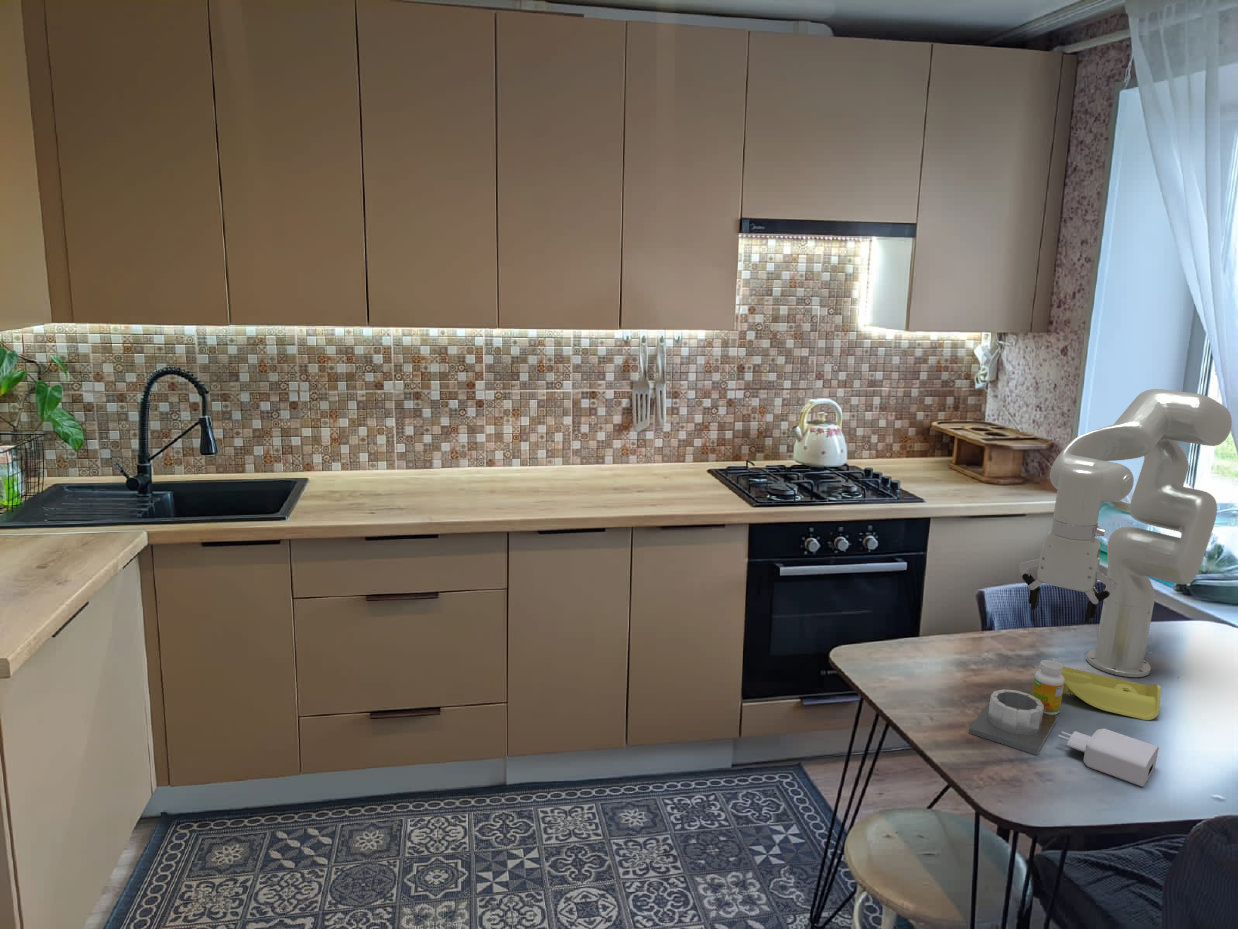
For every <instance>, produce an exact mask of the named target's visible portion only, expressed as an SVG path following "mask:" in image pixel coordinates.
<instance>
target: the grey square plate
mask: <svg viewBox="0 0 1238 929" xmlns="http://www.w3.org/2000/svg"><path fill="white" fill-rule="evenodd" d="M1043 709H1044V705H1043V704H1042V702H1041V701H1040V700H1039V699H1037V698H1035V697H1034V696H1032V694H1030V693H1027V692H1023V691H1020V690H1014V689H1013V690H1012V689H1005V688H1003V689H999V690H994V691H993V692H992V693H991V695H990V697H989V702H988V703H987V705H986V706H985V707H984V708H983V710H982V711H981V712H980V714H979V715H978V716H977V718H975V720H974V721H973V723H972V724H970V725H971V726H969V728H968V734H970V733H971V734H970V735H974V736H975V737H979V736H980V738H983V739H986V740H988V739H989V741H992V742H995V743H998V744H1000V743H1001V745H1004V746H1007V747H1009V748H1014V749H1016V750H1019V751H1023V752H1024V753H1025V752H1026V753H1028V754H1030V755H1034V756H1038V754H1039V752H1040V750H1041V749H1042V747H1043V745H1044V744H1045V742H1046V740H1047V738H1048V737H1049V736H1050V734H1051V731H1052V730H1053V729H1054V727H1055V724H1056V723H1057V720H1058V716H1055V715H1050V714H1046V713H1043Z"/></svg>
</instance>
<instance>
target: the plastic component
mask: <svg viewBox="0 0 1238 929" xmlns="http://www.w3.org/2000/svg"><path fill="white" fill-rule="evenodd" d="M1061 675H1062V676H1063V677H1064V687H1063V694H1065V695H1070V694H1071V696H1075V697H1077V698H1078V699H1080V700H1081V701H1083V702H1084V703H1086V704H1088V705H1090V706H1092V707H1094V708H1096V709H1100V710H1101V711H1105V712H1108V713H1113V714H1117V715H1121V716H1126V717H1131V718H1136V719H1139V720H1144V721H1150V720H1153V719H1155V718H1157V717H1158V715H1159V713H1160V710H1161V694H1162V687H1161V684H1160V685H1159V684H1144V683H1138V682H1134V681H1129V680H1125V679H1119V678H1114V677H1111V676H1106V675H1103V674H1097V673H1093V672H1089V671H1084V670H1079V669H1075V668H1070V667H1066V666H1063V668H1062V673H1061Z"/></svg>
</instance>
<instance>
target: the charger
mask: <svg viewBox="0 0 1238 929" xmlns="http://www.w3.org/2000/svg"><path fill="white" fill-rule="evenodd" d="M1063 735H1064V736H1063ZM1066 736H1067V737H1066ZM1057 737H1058V738H1060V739H1063V740H1066V741H1067V744H1066V746H1067V747H1068V748H1072V749H1074V750H1077V751H1079V752H1082V753H1084V756H1083V760H1082V761H1083V762H1084V764H1085V766H1086V767H1088V768H1091V769H1093V770H1096V771H1097V772H1101V773H1104V774H1106V775H1109V776H1112V777H1115V778H1118V779H1120V780H1123V781H1126V782H1128V783H1131V784H1134V785H1136V786H1140V787H1142V788H1143V787H1144V786H1145V785H1146V783H1147V781H1148V779H1150V776H1151V775H1152V773H1153V772H1154V770H1155V768H1156V764H1157V758H1158V754H1159V746H1157V745H1155V744H1151V743H1148V742H1146V741H1143V740H1140V739H1137V738H1133V737H1131V736H1129V735H1128V736H1127V735H1125V734H1122V733H1119V732H1117V731H1116V732H1115V731H1113V730H1109V729H1108V728H1099V729H1098V728H1097V729H1096V731H1095V732H1094V733H1093V734H1092V736H1090V735H1087V734H1084V733H1081V732H1079V731H1076V730H1074V731H1073V732H1072V734H1071V733H1068V732H1065V731H1060V734H1057Z"/></svg>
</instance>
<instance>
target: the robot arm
mask: <svg viewBox="0 0 1238 929" xmlns="http://www.w3.org/2000/svg"><path fill="white" fill-rule="evenodd" d="M1232 423H1233V422H1232V416H1231V413H1230V411H1229V409H1228V408H1227V407H1226V406H1225V405H1223V404H1222V403H1220V402H1218V401H1217V400H1215V399H1213V398H1212V397H1209V396H1207V395H1206V394H1205V395H1204V394H1202V393H1201V394H1200V393H1194V392H1188V391H1186V392H1185V391H1178V390H1171V389H1170V390H1169V389H1161V388H1160V389H1159V388H1153V389H1147V390H1144V391H1143V392H1141V393H1140V394H1138V395H1137V396H1136V397H1135V398H1134V400H1132V402H1131V403H1130V404H1129V405H1128V406H1127V408H1125V410H1124V411H1123V412H1122V413H1121V415H1120V416H1119V417H1118V418H1117V419H1116V421H1115V422H1114V423H1113V424H1111V425H1107V426H1104V427H1100V428H1097V429H1095V430H1092V431H1089V432H1086V433H1083V434H1081V435H1079V436H1076V437H1075V438H1073V439H1072V440H1071V441H1070V442H1069V443H1068V444H1066V446H1065V447H1064V448H1063V449H1062V451H1061V452H1060V453H1059V454H1058V455H1057V457H1056V458H1055V460H1054V462H1053V464H1052V466H1051V467H1050V472H1049V479H1050V483H1051V485H1052V486H1053V487H1054V489H1056V497H1055V505H1054V510H1053V511H1054V512H1053V518H1052V524H1051V530H1048V531H1047V533H1046V536H1045V538H1044V541H1043V544H1042V546H1041V547H1042V548H1041V551H1040V556H1039V558H1035V559H1030V560H1028V561H1027V560H1026V561H1022V562H1020V563H1019V564H1018V569H1019V572H1020V575H1021V577H1022V580H1023V581H1024V582H1025V584H1026V586H1028V589H1029V598H1028V604H1029V605H1030V610H1031V611H1035V610H1036V609H1037V608H1038V606H1039V604H1040V603H1039V601H1040V595H1041V585H1043V584H1045V585H1050V586H1055V587H1058V588H1062V589H1063V588H1064V589H1067V590H1073V591H1075V592H1076V591H1077V592H1082V593H1085V595H1087V596H1086V597H1087V598H1088V599H1089V601H1088V602H1087V604H1086V605H1087V606H1086V612H1085V616H1084V617H1085V618H1084V622H1085V623H1087V624H1090V622H1091V621H1092V619H1096V617H1097V610H1098V604H1099V603H1100V602H1102V601H1103V604H1102V609H1101V615H1100V620H1099V627H1098V628H1099V629H1098V633H1097V639H1096V646H1095V648H1094V649H1091V650H1089V651H1088V652H1087V653H1086V656H1085V658H1086V661H1087V662H1088V663H1089V664H1090V665H1091V666H1092V667H1094V668H1096V669H1098V670H1100V671H1102V672H1106V673H1108V674H1111V675H1114V674H1115V676H1119V677H1120V676H1121V677H1125V678H1143V677H1146V676H1148V675H1149V674H1151V667H1152V666H1151V664H1150V663H1149V662H1147V661H1146V660H1145V656H1146V650H1147V644H1148V639H1149V638H1148V637H1149V632H1150V628H1151V622H1152V616H1153V610H1154V605H1155V598H1156V594H1155V589H1154V585H1153V584H1152V582H1151V580H1150V579H1151V578H1154V579H1157V580H1161V581H1165V582H1169V583H1173V584H1177V585H1188V584H1190V583H1192V582H1193V581H1195V578H1196V577H1197V575H1198V574H1199V571H1200V569H1201V566H1202V564H1203V560H1204V557H1205V554H1206V551H1207V548H1208V545H1209V542H1210V539H1211V536H1212V533H1213V530H1214V526H1215V522H1216V519H1217V514H1218V505H1217V501H1216V498H1215V497H1214V496H1213V495H1212V494H1211V493H1209V492H1207V491H1204V490H1201V489H1197V488H1191V487H1186V486H1184V485H1185V482H1186V478H1187V476H1188V473H1189V467H1190V463H1189V460H1188V458H1187V456H1186V453H1185V452H1184V450H1183V449H1182V447H1181V445H1180V444H1179V443H1178V442H1181V443H1188V444H1196V445H1202V446H1209V447H1215V446H1219V445H1221V444H1223V443H1224V442H1225V441H1226V440H1227V438H1228V437H1229V435H1230V433H1231V430H1232ZM1142 457H1144V458H1143V463H1142V465H1141V470H1140V472H1139V475H1138V477H1137V478H1138V479H1137V481H1136V484H1135V487H1134V482H1135V480H1134V479H1135V478H1134V475H1133V472H1132V471H1131V469H1130V468H1129V467H1127V466H1126V465H1124V464H1122V463H1117V462H1116V461H1126V460H1133V459H1138V458H1142ZM1114 461H1115V462H1114ZM1133 487H1134V490H1133ZM1132 490H1133V493H1132V496H1131V500H1130V504H1129V508H1128V510H1129V515H1130V517H1131V518H1133V520H1135V521H1137V522H1139V523H1141V524H1145V525H1149V526H1153V527H1157V528H1160V529H1161V528H1162V529H1166V530H1171V531H1173V532H1174V531H1175V532H1178V533H1181V536H1180V537H1179V536H1174V535H1169V534H1164V533H1161V532H1157V531H1152V530H1148V529H1145V528H1139V527H1133V526H1125V527H1120V528H1117V529H1115V530H1114V531H1113V532H1112V533H1111V534H1110V536H1109V538H1108V541H1107V549H1106V550H1107V551H1106V553H1107V573H1106V574H1107V575H1106V574H1105V573H1104V572H1103V571H1101V570H1100V561H1101V560H1100V559H1101V544H1100V543H1101V542H1100V539H1099V538H1097V537H1105V535H1106V534H1105V533H1106V528H1105V529H1104V528H1101V527H1100V525H1099V522H1098V521H1099V516H1100V510H1101V509H1100V508H1101V503H1116V502H1120V501H1122V500H1124V499H1125V498H1127V496H1129V494H1130V493H1131V492H1132ZM1036 567H1037V570H1036V578H1034V577H1033V575H1031V573H1030V571H1029V569H1032V568H1036ZM1149 577H1150V578H1149ZM1098 581H1099V582H1100V583H1102V584H1103V585H1105V589H1103V590H1101V591H1100V592H1099V591H1098V590H1097V589H1096V587H1095V586H1097V584H1098Z"/></svg>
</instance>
